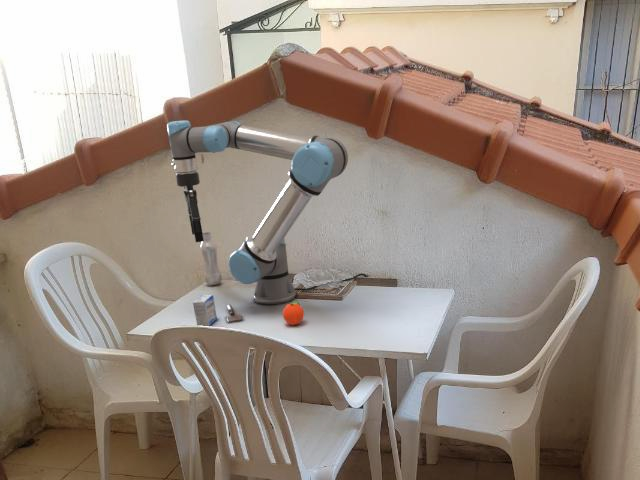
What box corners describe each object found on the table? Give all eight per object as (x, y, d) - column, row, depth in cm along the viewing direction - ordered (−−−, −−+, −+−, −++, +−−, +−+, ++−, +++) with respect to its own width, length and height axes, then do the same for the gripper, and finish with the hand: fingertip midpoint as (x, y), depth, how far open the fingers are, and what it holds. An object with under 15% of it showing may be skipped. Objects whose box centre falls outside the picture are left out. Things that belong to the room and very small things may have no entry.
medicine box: (209, 326, 232) (205, 301, 228) (197, 327, 233) (192, 302, 229) (217, 319, 239) (213, 294, 234) (205, 319, 240) (201, 294, 235)
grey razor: (222, 309, 248) (222, 305, 247) (236, 307, 249) (235, 303, 248) (228, 323, 234) (227, 318, 233) (242, 320, 235) (241, 316, 234)
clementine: (293, 318, 233) (291, 298, 229) (310, 320, 230) (308, 300, 226) (279, 326, 227) (277, 305, 224) (297, 328, 224) (295, 307, 220)
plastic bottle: (204, 287, 275) (195, 235, 265) (209, 282, 281) (201, 231, 271) (219, 286, 274) (211, 235, 264) (224, 281, 279) (216, 231, 270)
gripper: (173, 169, 239) (184, 232, 249) (177, 178, 218) (190, 246, 228) (194, 166, 240) (205, 229, 251) (201, 175, 219) (212, 243, 229)
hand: (197, 237), depth 239 cm, fingers open, 13 cm apart
